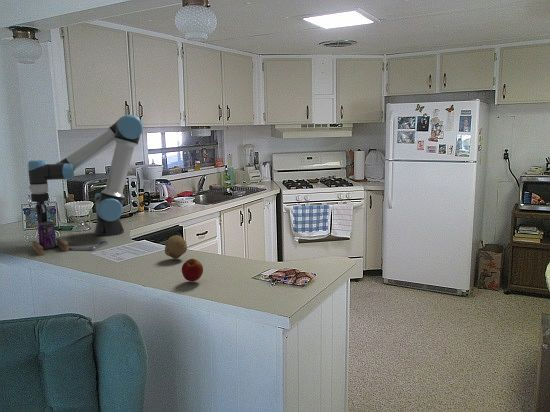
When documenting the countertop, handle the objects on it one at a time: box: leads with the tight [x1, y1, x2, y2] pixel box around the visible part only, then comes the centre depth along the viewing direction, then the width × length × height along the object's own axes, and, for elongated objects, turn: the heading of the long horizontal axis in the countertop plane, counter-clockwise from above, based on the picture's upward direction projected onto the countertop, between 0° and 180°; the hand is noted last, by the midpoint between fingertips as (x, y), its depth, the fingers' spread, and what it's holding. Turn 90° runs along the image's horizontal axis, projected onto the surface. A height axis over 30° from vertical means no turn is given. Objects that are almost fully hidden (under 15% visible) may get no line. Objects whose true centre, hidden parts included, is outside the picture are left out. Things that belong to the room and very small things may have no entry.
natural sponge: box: [164, 235, 188, 259], centre depth 192 cm, size 9×9×10 cm
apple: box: [181, 258, 204, 282], centre depth 163 cm, size 8×8×8 cm
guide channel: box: [31, 237, 70, 257], centre depth 211 cm, size 12×16×4 cm
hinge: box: [68, 240, 108, 252], centre depth 213 cm, size 11×19×1 cm, turn 128°
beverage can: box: [37, 221, 57, 250], centre depth 214 cm, size 7×7×12 cm
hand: (44, 241), depth 221 cm, fingers closed
